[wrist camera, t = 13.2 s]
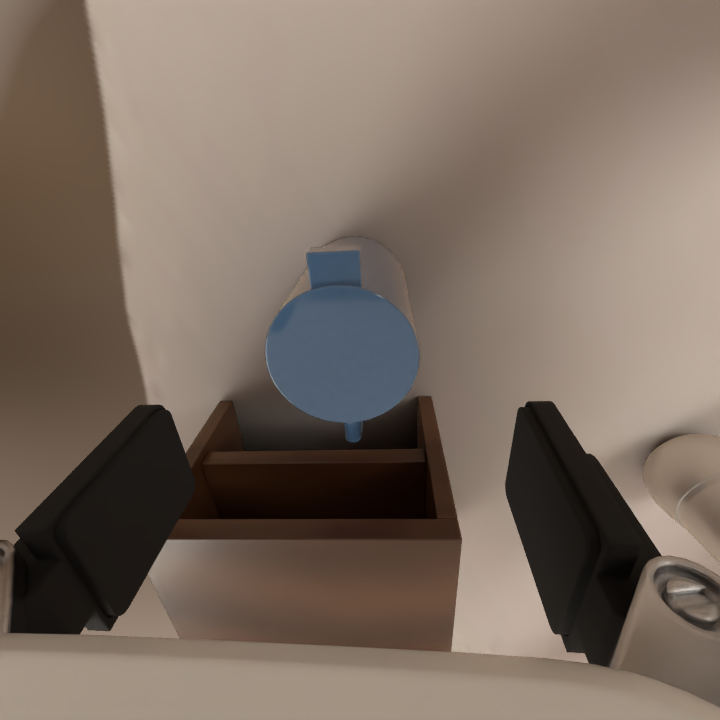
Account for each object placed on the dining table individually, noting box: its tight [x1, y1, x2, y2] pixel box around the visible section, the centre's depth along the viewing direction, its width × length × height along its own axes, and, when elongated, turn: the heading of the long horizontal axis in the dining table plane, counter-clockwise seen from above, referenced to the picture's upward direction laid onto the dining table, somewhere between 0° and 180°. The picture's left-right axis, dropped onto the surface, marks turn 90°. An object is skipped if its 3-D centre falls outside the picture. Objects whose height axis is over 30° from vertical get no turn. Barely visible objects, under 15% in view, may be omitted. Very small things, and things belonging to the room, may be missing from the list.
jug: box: [265, 237, 420, 443], centre depth 21 cm, size 10×6×10 cm, turn 3°
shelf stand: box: [148, 396, 462, 652], centre depth 26 cm, size 14×16×14 cm
